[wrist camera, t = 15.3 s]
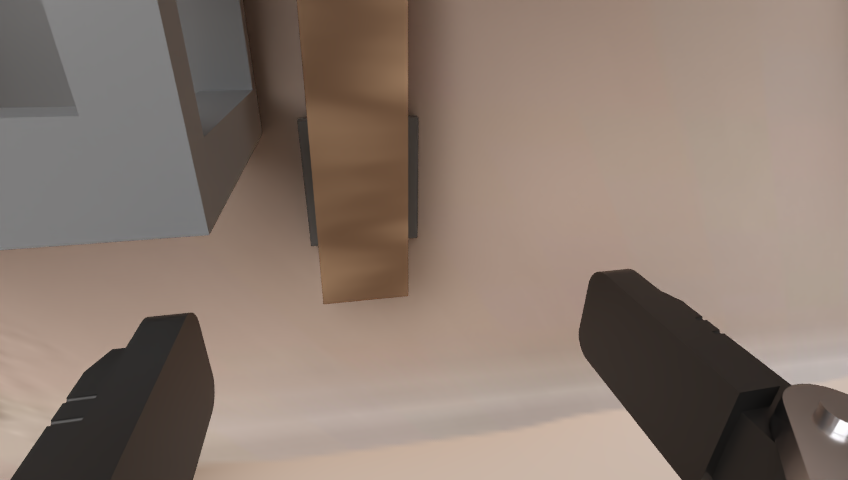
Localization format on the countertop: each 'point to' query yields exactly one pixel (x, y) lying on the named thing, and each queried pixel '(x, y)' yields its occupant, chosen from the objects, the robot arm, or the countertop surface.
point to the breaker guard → (121, 118)
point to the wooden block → (358, 143)
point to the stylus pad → (411, 177)
